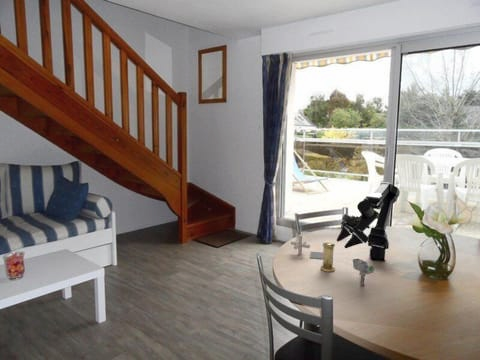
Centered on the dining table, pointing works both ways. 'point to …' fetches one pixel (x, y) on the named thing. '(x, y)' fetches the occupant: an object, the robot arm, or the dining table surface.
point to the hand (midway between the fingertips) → (340, 244)
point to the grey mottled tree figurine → (362, 269)
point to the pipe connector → (300, 245)
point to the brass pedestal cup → (328, 257)
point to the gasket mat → (316, 255)
